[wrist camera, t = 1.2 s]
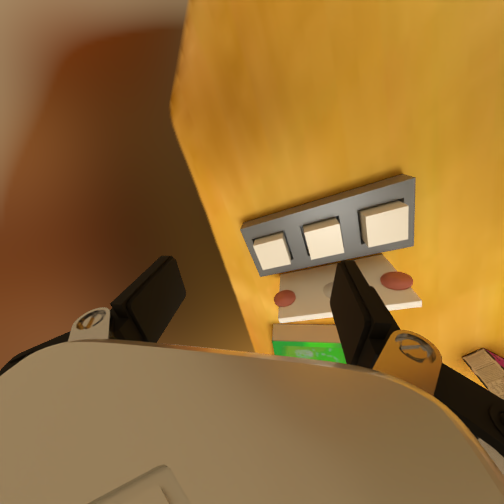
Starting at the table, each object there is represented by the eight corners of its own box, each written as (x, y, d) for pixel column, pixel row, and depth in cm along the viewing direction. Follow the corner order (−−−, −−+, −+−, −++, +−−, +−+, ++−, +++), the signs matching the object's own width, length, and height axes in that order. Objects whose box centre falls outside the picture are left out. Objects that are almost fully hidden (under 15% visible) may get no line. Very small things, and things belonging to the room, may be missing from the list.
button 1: (396, 199, 26) (408, 205, 23) (396, 230, 28) (408, 239, 25) (358, 209, 27) (365, 216, 25) (361, 238, 29) (368, 247, 27)
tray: (282, 377, 58) (282, 395, 53) (273, 322, 46) (272, 340, 41) (372, 384, 52) (380, 405, 48) (389, 323, 40) (401, 345, 36)
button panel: (402, 173, 26) (469, 192, 16) (402, 255, 31) (452, 303, 22) (243, 222, 33) (226, 254, 24) (267, 281, 39) (261, 325, 29)
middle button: (334, 216, 28) (339, 223, 26) (339, 243, 30) (344, 252, 28) (302, 224, 30) (304, 232, 27) (309, 250, 32) (311, 259, 29)
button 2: (282, 230, 31) (282, 238, 28) (290, 254, 33) (290, 264, 30) (255, 237, 32) (252, 246, 29) (264, 260, 34) (262, 270, 32)
